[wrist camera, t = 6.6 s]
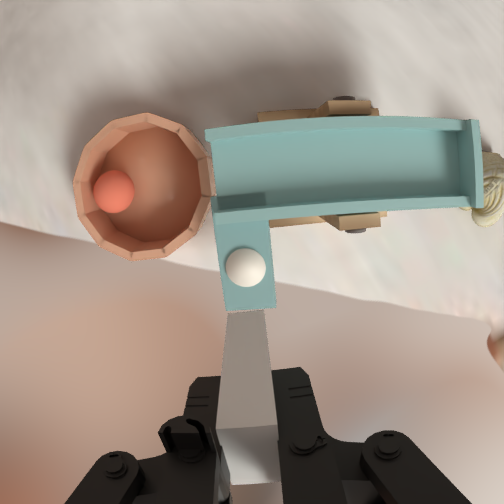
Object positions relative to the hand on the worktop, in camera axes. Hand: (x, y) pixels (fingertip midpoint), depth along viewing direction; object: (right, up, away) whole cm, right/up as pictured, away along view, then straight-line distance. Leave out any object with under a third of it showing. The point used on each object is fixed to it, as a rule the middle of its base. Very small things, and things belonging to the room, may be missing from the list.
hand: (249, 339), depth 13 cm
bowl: (-10, +10, +17) cm, 22 cm away
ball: (-11, +10, +15) cm, 21 cm away
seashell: (+27, +11, +17) cm, 34 cm away
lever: (+7, +7, +10) cm, 14 cm away
